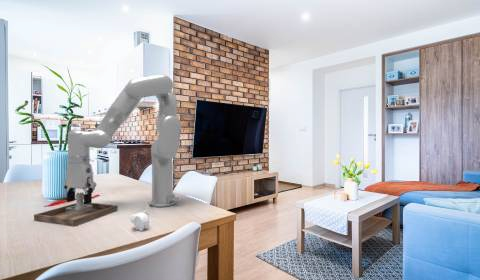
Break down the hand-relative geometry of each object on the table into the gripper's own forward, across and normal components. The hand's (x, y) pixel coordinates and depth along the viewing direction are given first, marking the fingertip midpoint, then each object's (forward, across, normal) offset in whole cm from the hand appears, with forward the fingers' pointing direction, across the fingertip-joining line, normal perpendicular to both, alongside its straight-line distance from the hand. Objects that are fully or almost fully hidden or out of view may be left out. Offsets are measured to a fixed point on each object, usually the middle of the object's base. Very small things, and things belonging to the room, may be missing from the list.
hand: (79, 202), depth 107 cm
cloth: (+6, +21, -16) cm, 27 cm away
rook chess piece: (+4, 0, 0) cm, 4 cm away
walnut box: (+5, -3, +3) cm, 7 cm away
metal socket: (+4, 0, 0) cm, 4 cm away
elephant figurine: (+5, -35, +6) cm, 36 cm away
